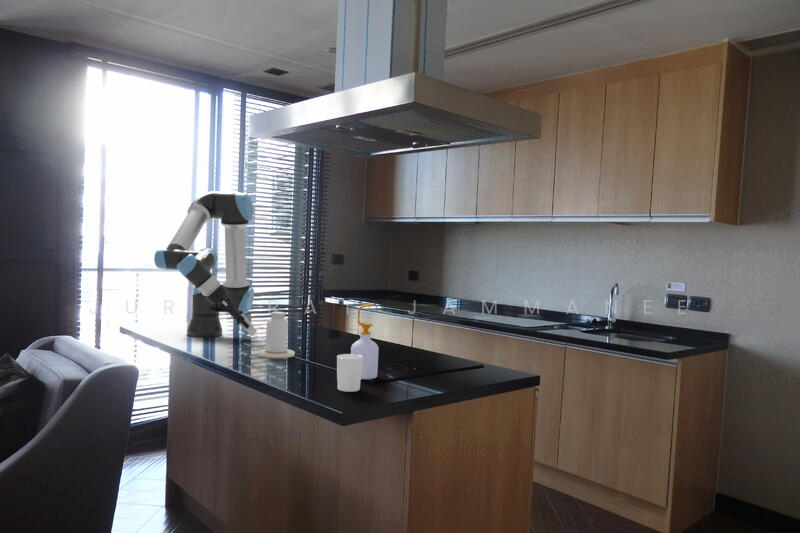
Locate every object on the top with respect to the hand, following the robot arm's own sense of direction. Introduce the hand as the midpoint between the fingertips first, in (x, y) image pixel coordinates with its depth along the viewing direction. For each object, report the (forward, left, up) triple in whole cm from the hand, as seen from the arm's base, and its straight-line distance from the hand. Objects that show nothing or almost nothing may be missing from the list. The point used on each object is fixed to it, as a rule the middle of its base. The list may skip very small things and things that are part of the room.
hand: (252, 330), depth 221 cm
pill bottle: (0, +9, -8) cm, 12 cm away
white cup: (+56, +24, -9) cm, 62 cm away
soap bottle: (+40, +33, -9) cm, 53 cm away
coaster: (0, +9, -9) cm, 13 cm away
